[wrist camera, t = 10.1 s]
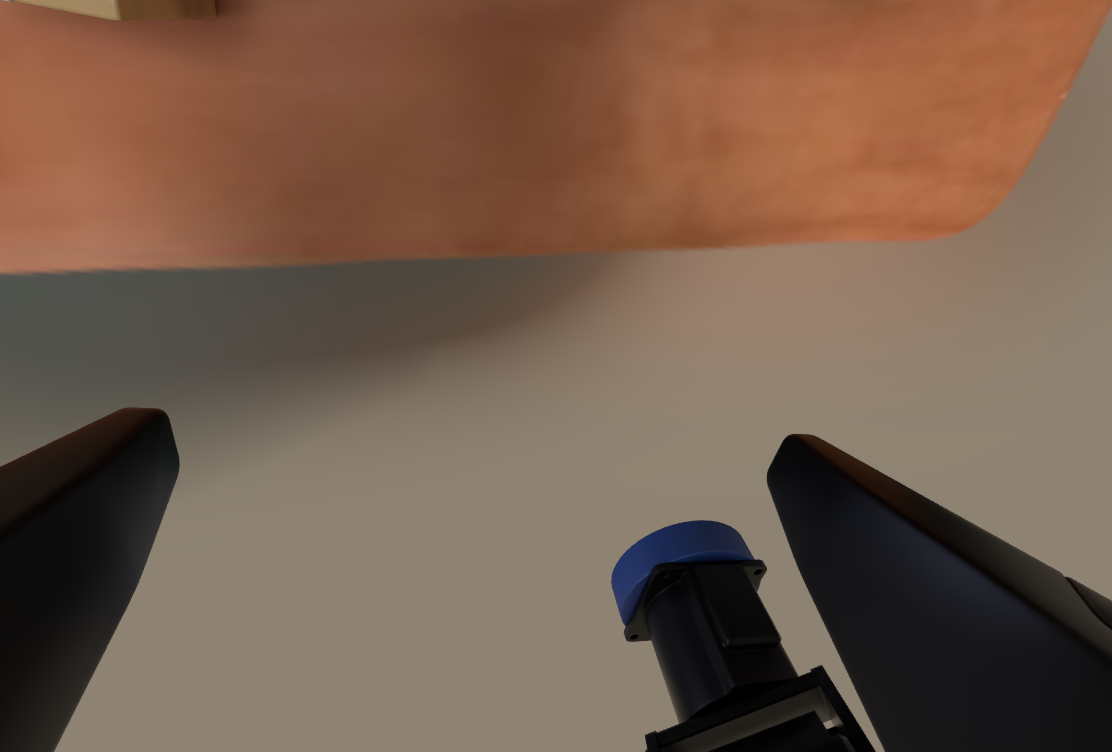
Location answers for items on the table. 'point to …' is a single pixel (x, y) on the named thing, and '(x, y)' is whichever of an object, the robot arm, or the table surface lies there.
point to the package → (133, 8)
